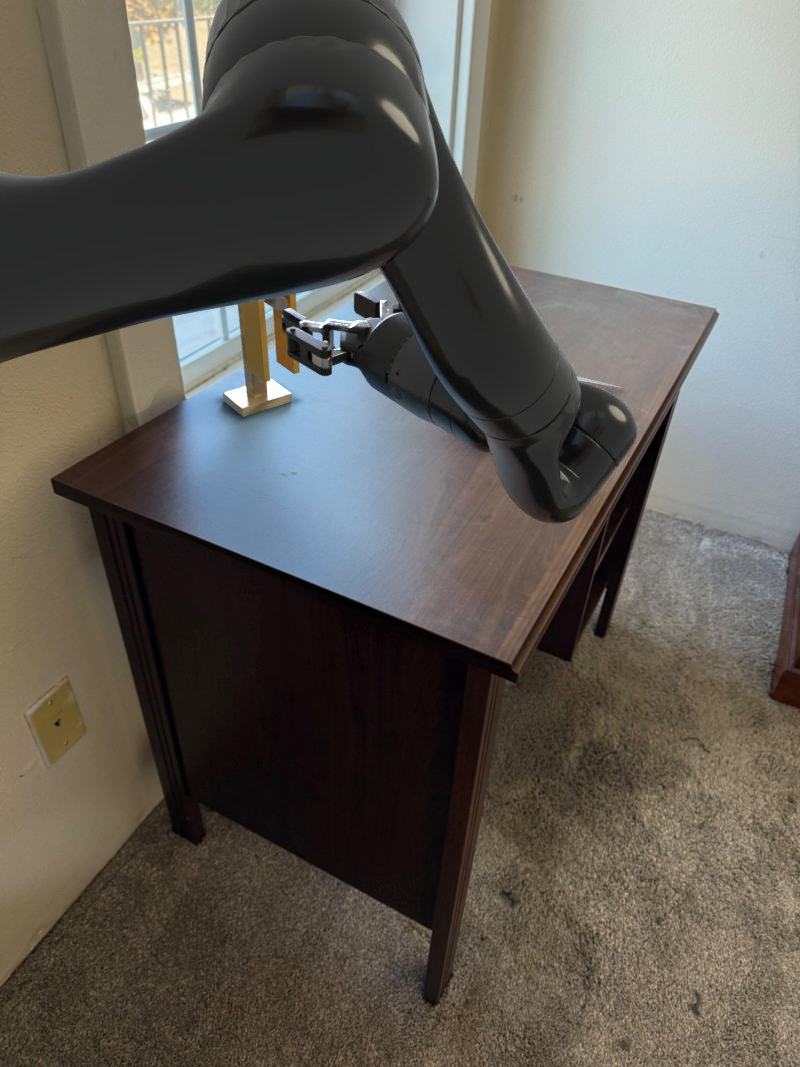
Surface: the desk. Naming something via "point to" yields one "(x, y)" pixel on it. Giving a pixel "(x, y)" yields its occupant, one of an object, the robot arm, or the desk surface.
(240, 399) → the rack
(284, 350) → the yellow goalpost frame
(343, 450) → the desk surface
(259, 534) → the desk surface
